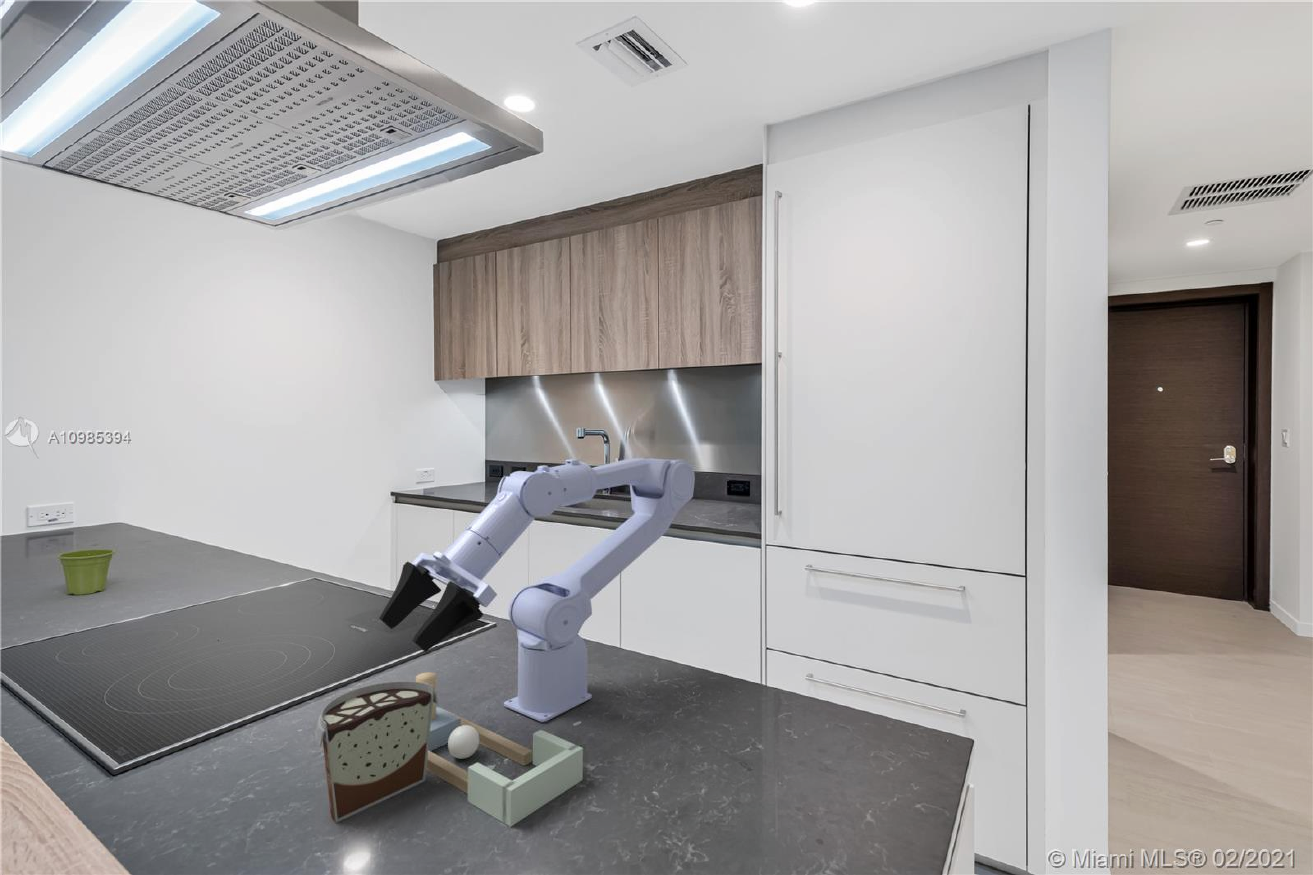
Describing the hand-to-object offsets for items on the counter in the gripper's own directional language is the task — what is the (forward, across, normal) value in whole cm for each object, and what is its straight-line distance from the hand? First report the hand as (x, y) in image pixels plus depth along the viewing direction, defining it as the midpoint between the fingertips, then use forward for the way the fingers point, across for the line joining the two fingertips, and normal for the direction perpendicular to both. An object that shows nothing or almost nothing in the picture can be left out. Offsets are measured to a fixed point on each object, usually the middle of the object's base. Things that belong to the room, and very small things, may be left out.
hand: (401, 634), depth 71 cm
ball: (+4, +7, +12) cm, 14 cm away
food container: (+13, +5, +7) cm, 16 cm away
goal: (+4, +17, +13) cm, 22 cm away
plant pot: (+27, -115, +14) cm, 119 cm away
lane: (+6, +5, +13) cm, 15 cm away
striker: (+6, 0, +14) cm, 15 cm away
